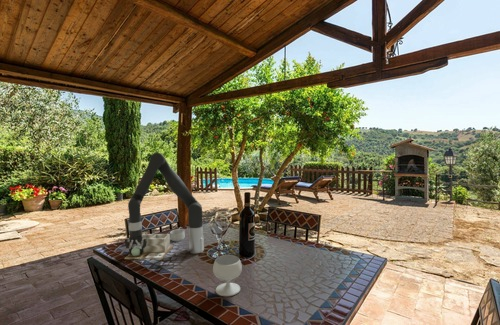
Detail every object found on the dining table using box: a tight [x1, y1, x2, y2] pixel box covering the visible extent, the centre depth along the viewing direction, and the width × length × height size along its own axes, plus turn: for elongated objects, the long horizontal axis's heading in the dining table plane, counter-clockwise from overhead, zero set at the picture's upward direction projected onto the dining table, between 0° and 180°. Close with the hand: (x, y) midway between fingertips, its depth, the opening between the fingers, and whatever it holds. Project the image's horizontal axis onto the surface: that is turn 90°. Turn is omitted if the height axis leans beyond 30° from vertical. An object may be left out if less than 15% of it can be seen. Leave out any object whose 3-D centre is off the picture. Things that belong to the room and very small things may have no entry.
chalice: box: [212, 254, 243, 297], centre depth 121 cm, size 14×14×15 cm
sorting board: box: [123, 233, 176, 260], centre depth 167 cm, size 25×23×10 cm
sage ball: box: [131, 245, 140, 256], centre depth 161 cm, size 6×6×6 cm
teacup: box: [169, 228, 185, 242], centre depth 194 cm, size 14×11×8 cm
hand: (136, 254), depth 161 cm, fingers closed on sage ball, 6 cm apart
